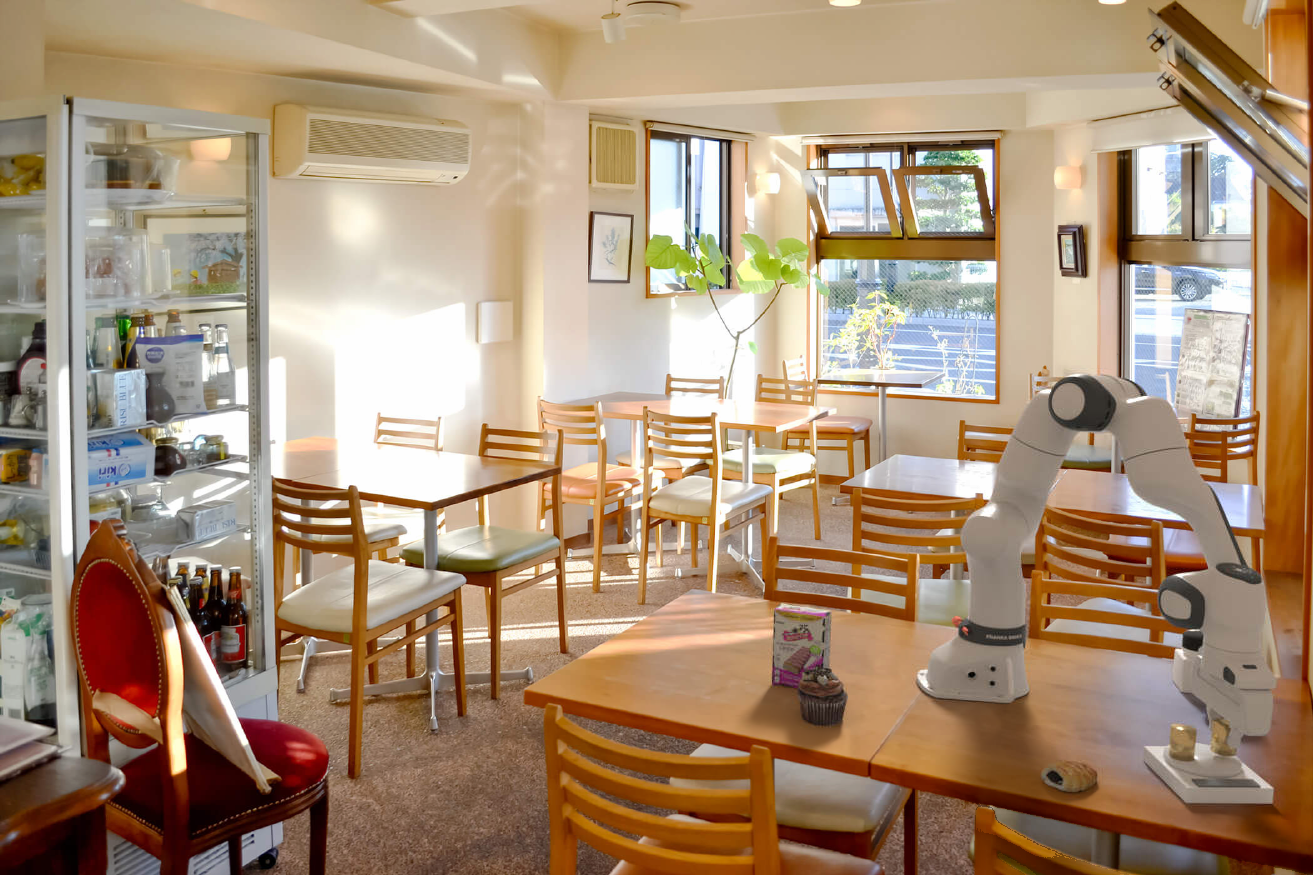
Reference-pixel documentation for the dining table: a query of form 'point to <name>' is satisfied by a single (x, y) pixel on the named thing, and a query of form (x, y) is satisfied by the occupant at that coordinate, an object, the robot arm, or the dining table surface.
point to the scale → (1208, 777)
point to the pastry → (1069, 776)
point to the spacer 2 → (1221, 738)
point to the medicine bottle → (1186, 658)
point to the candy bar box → (799, 642)
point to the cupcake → (821, 697)
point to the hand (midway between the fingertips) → (1224, 739)
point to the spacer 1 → (1182, 742)
